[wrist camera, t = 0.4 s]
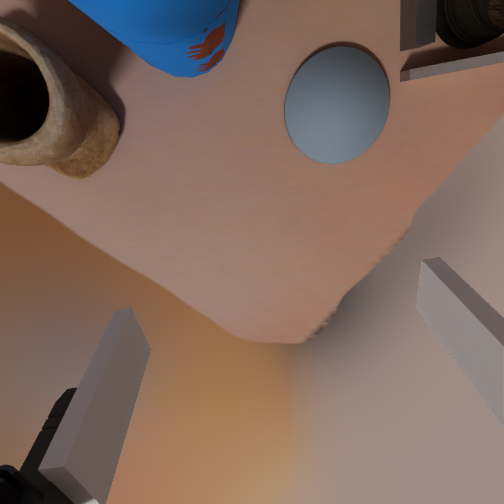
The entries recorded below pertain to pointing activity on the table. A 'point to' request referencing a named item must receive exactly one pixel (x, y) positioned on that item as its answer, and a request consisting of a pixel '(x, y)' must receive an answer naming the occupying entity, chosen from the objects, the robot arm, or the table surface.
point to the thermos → (169, 30)
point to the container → (469, 21)
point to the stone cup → (49, 110)
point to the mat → (337, 105)
